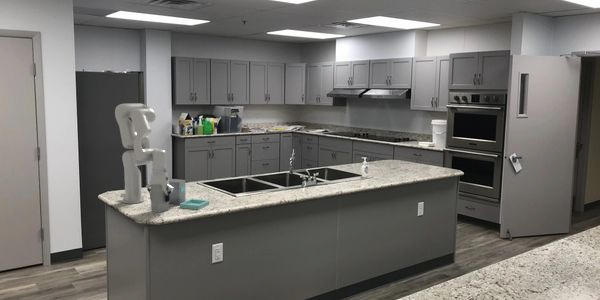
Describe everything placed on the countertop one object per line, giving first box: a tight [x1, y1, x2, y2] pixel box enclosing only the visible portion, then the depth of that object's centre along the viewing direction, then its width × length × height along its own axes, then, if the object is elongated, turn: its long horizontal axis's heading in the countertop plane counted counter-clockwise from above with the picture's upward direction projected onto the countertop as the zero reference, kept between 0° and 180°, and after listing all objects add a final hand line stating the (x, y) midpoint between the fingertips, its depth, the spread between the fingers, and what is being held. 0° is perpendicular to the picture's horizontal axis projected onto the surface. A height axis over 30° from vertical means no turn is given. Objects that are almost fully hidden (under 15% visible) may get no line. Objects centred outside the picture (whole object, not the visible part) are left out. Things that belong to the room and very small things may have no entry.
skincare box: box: [150, 185, 170, 214], centre depth 277 cm, size 8×7×16 cm
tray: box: [179, 198, 210, 210], centre depth 291 cm, size 12×13×2 cm
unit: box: [169, 178, 186, 206], centre depth 296 cm, size 11×9×14 cm
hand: (159, 200), depth 277 cm, fingers open, 9 cm apart
